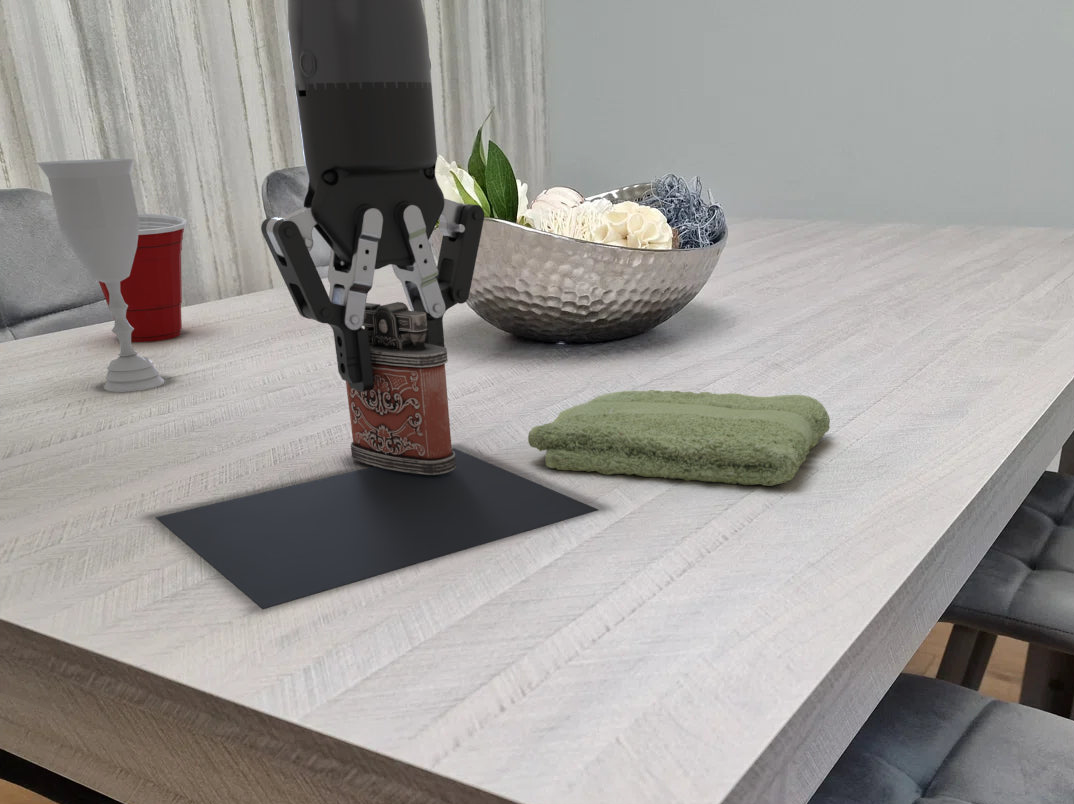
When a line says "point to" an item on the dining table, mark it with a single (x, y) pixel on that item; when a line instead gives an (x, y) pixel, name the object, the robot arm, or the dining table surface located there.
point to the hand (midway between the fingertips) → (394, 381)
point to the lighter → (402, 396)
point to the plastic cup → (154, 280)
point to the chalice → (104, 246)
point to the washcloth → (686, 436)
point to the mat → (362, 525)
